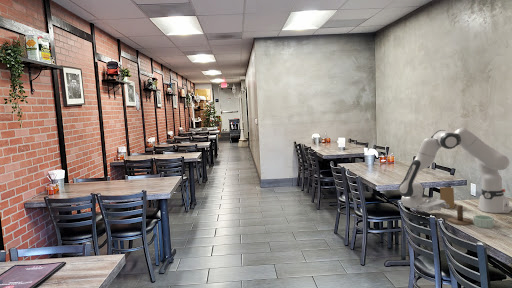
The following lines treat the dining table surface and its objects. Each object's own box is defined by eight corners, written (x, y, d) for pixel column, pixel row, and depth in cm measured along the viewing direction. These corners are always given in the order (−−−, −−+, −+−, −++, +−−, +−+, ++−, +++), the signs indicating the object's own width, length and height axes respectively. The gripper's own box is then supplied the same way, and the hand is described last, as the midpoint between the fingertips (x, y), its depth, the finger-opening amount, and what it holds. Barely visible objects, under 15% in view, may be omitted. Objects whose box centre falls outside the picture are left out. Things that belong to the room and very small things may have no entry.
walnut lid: (455, 217, 226) (455, 202, 225) (477, 222, 215) (476, 205, 214) (443, 222, 219) (443, 205, 219) (465, 226, 208) (464, 209, 208)
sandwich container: (454, 203, 259) (454, 183, 257) (454, 208, 245) (453, 187, 244) (441, 202, 263) (440, 182, 262) (440, 207, 250) (439, 187, 249)
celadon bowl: (479, 221, 215) (478, 214, 215) (497, 225, 207) (497, 217, 206) (470, 224, 210) (470, 217, 210) (488, 228, 202) (488, 221, 201)
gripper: (414, 202, 231) (434, 206, 219) (433, 196, 242) (453, 200, 230) (415, 211, 232) (435, 216, 220) (433, 205, 242) (453, 209, 230)
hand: (444, 207), depth 225 cm, fingers open, 8 cm apart
